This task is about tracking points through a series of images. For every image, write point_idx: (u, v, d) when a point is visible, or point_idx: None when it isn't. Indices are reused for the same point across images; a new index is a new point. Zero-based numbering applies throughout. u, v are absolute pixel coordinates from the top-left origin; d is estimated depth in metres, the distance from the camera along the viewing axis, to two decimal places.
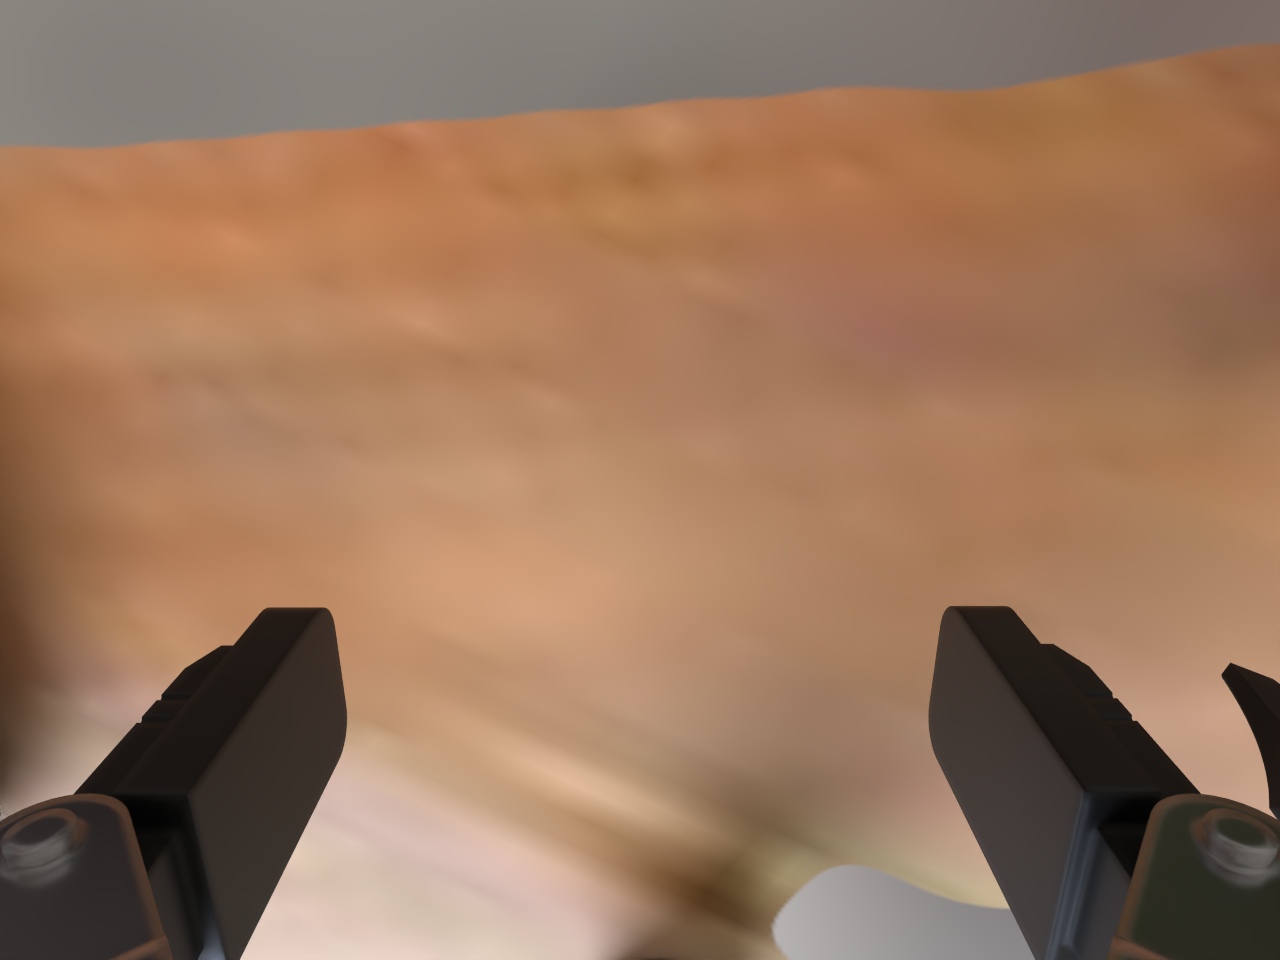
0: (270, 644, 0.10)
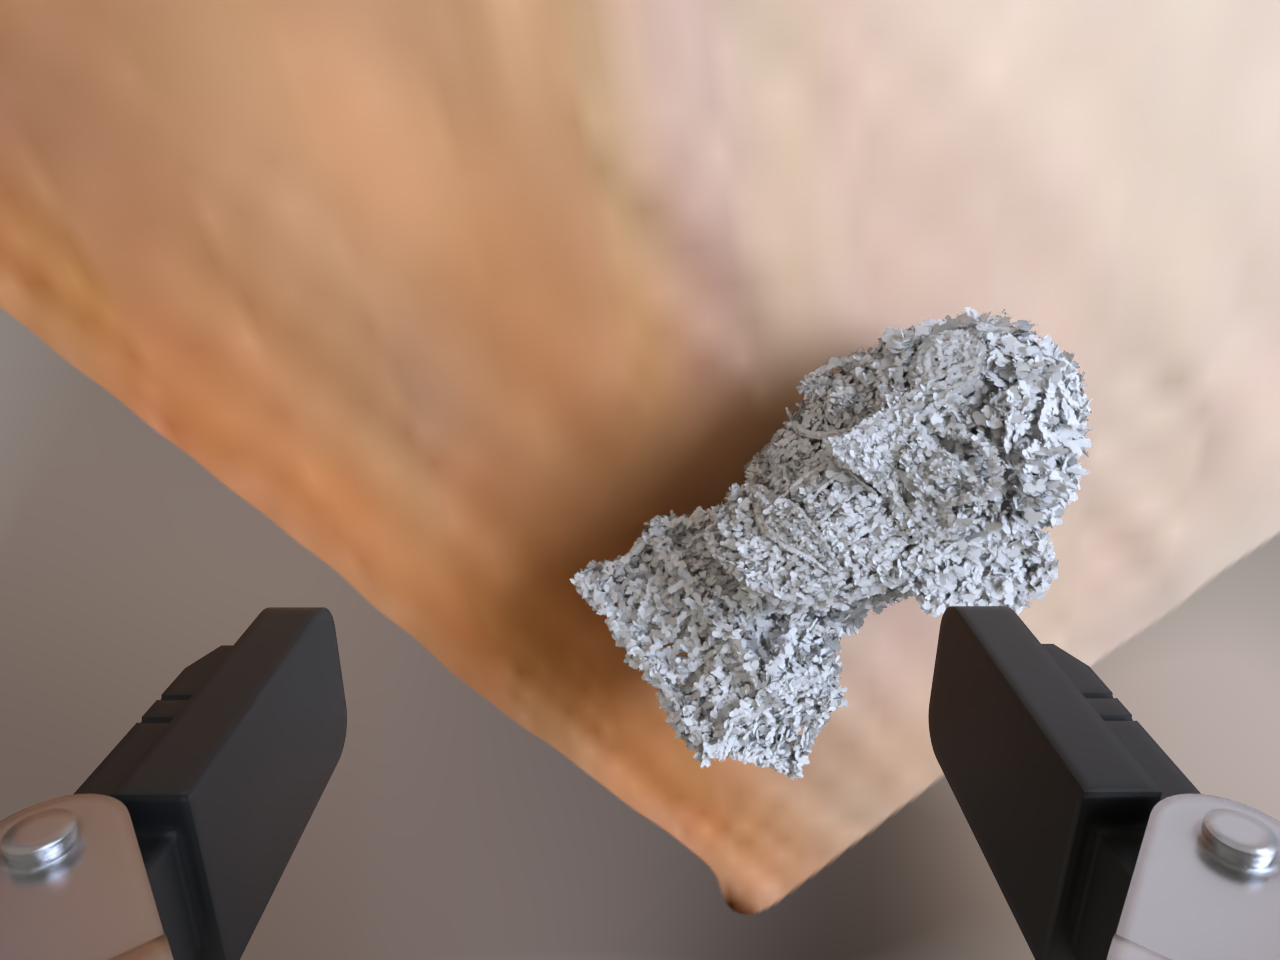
0: (270, 644, 0.10)
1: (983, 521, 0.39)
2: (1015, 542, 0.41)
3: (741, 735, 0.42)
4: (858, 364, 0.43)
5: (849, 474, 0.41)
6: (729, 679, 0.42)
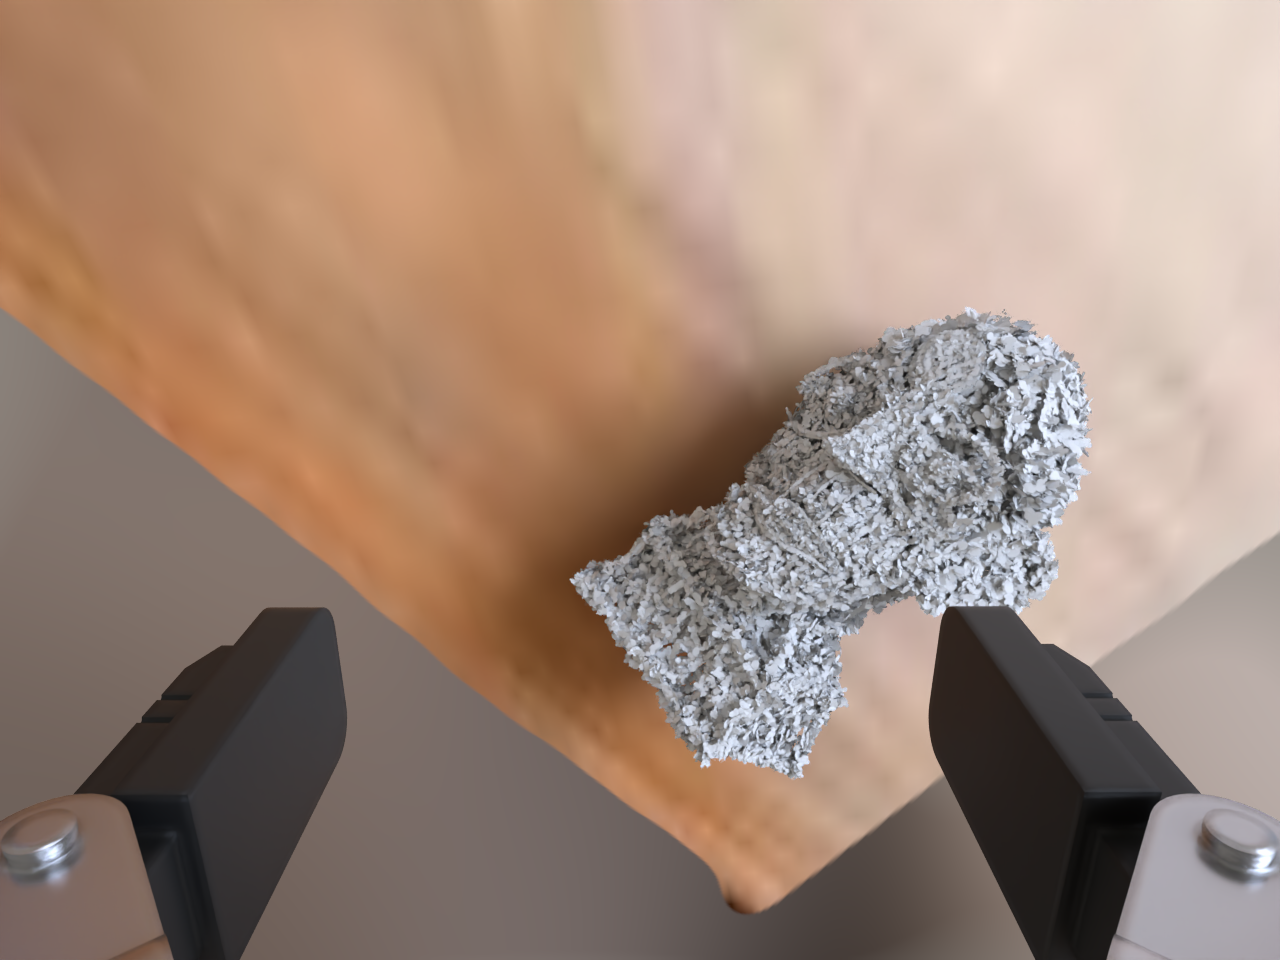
0: (270, 644, 0.10)
1: (983, 521, 0.39)
2: (1015, 542, 0.41)
3: (741, 735, 0.42)
4: (858, 364, 0.43)
5: (849, 474, 0.41)
6: (729, 679, 0.42)
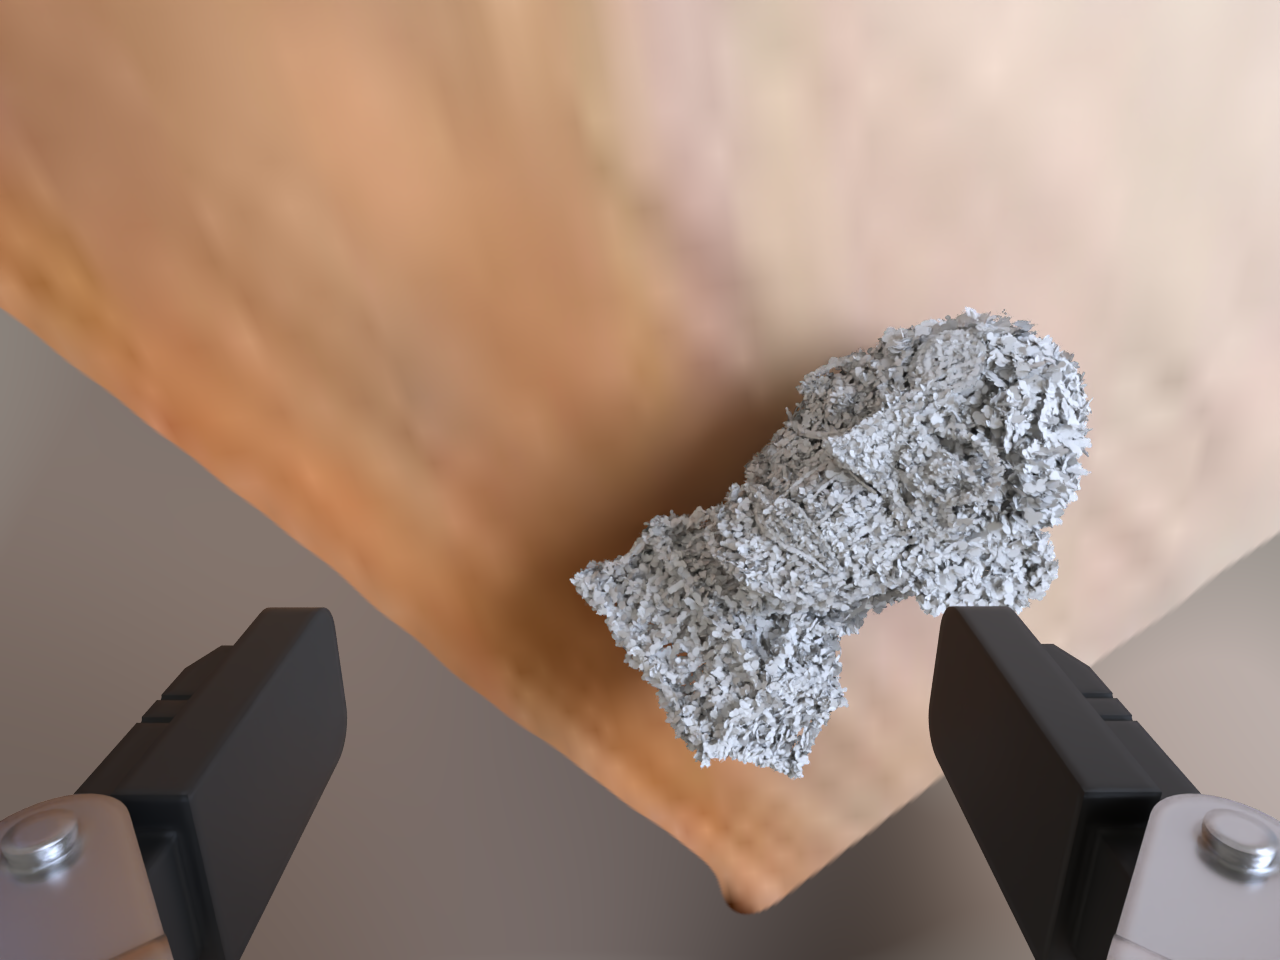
0: (270, 644, 0.10)
1: (983, 521, 0.39)
2: (1015, 542, 0.41)
3: (741, 735, 0.42)
4: (858, 364, 0.43)
5: (849, 474, 0.41)
6: (729, 679, 0.42)
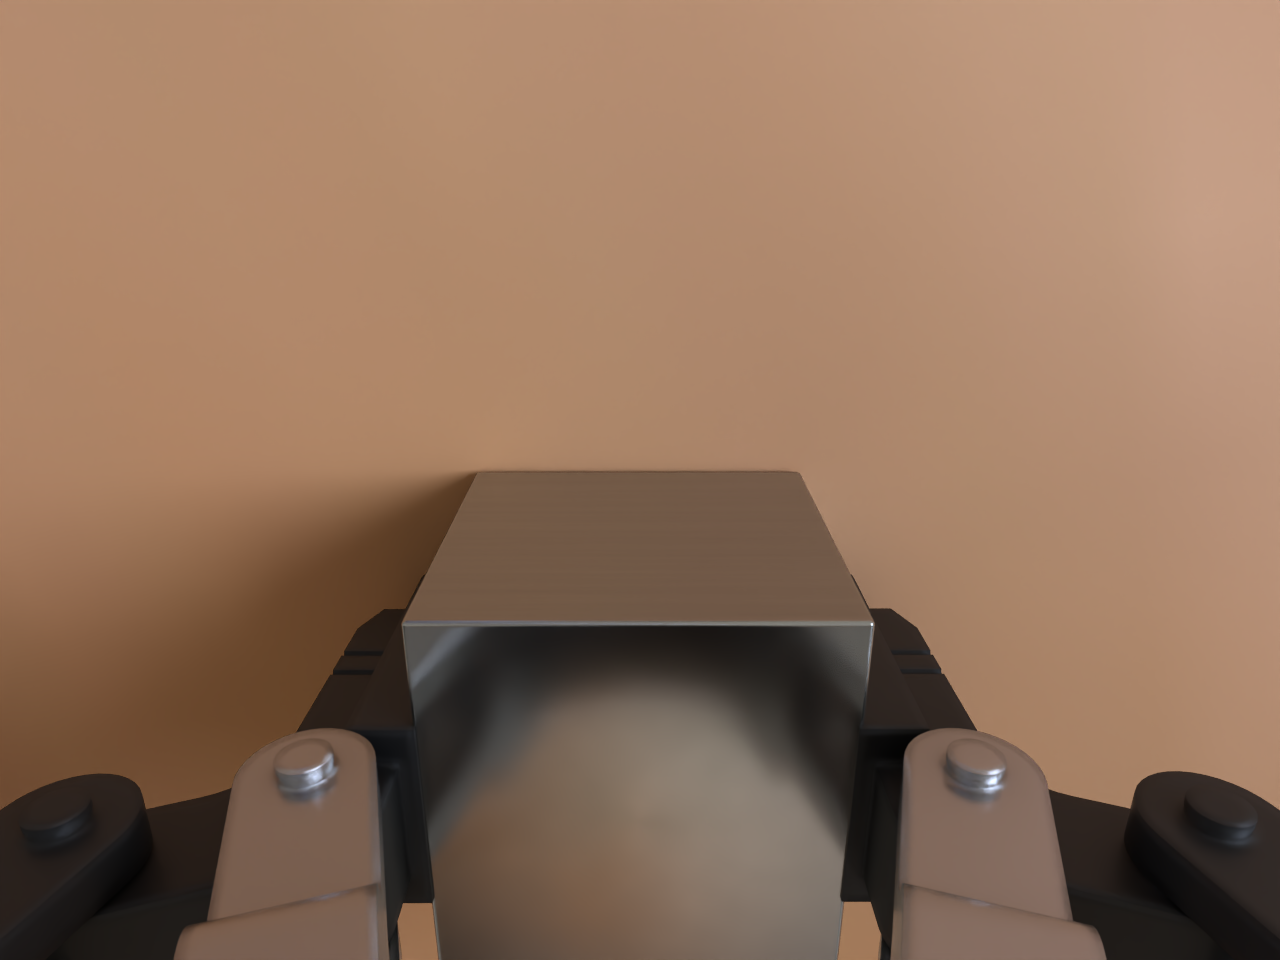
0: None
1: None
2: None
3: None
4: None
5: None
6: None
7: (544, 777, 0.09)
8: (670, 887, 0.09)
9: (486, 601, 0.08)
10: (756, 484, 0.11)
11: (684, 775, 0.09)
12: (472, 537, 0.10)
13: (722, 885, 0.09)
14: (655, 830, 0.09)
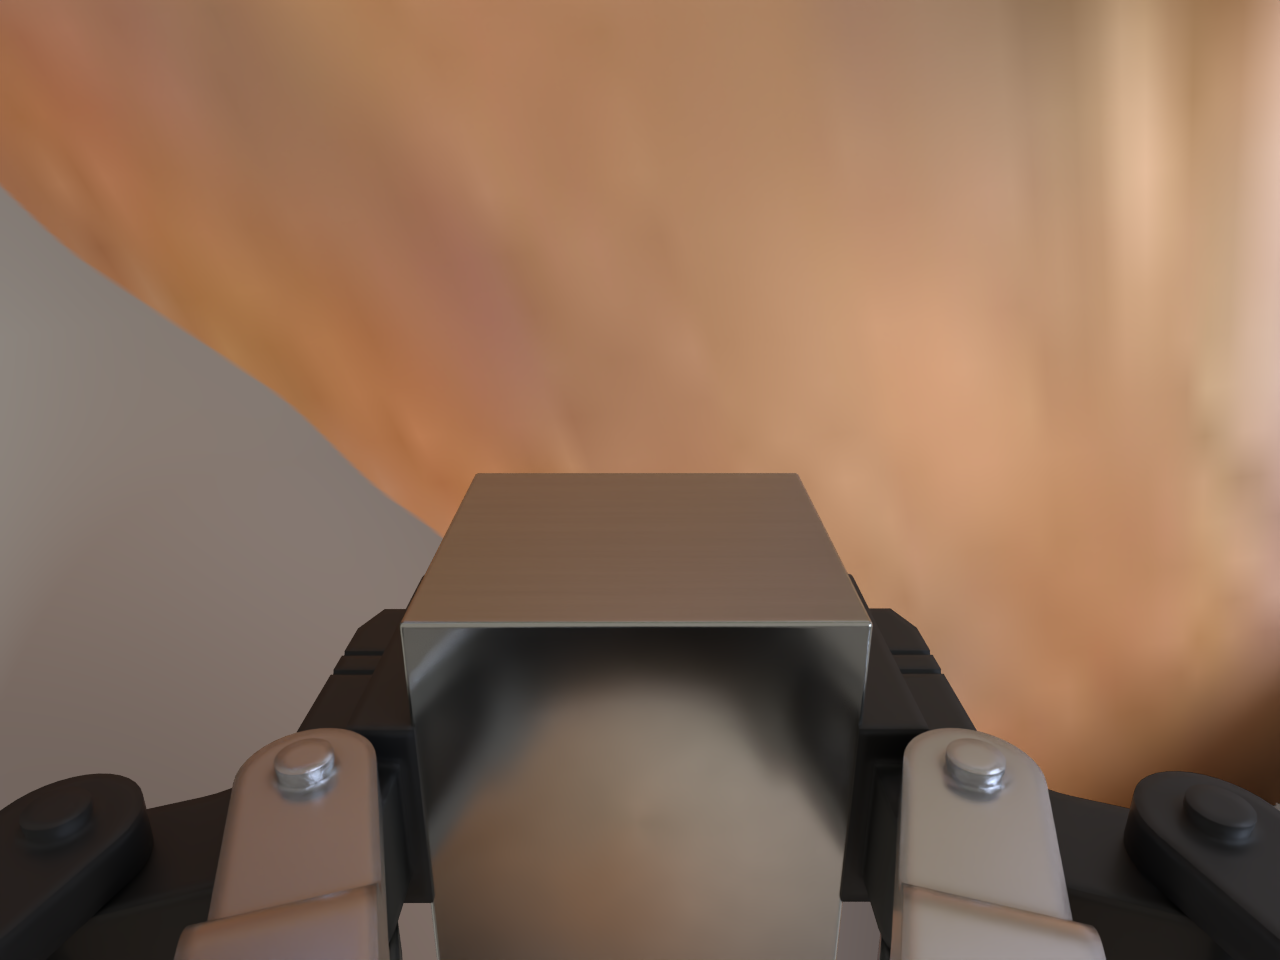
0: None
1: None
2: None
3: None
4: None
5: None
6: None
7: (544, 776, 0.09)
8: (668, 888, 0.09)
9: (484, 602, 0.08)
10: (754, 485, 0.11)
11: (682, 776, 0.09)
12: (471, 538, 0.10)
13: (720, 886, 0.09)
14: (653, 830, 0.09)
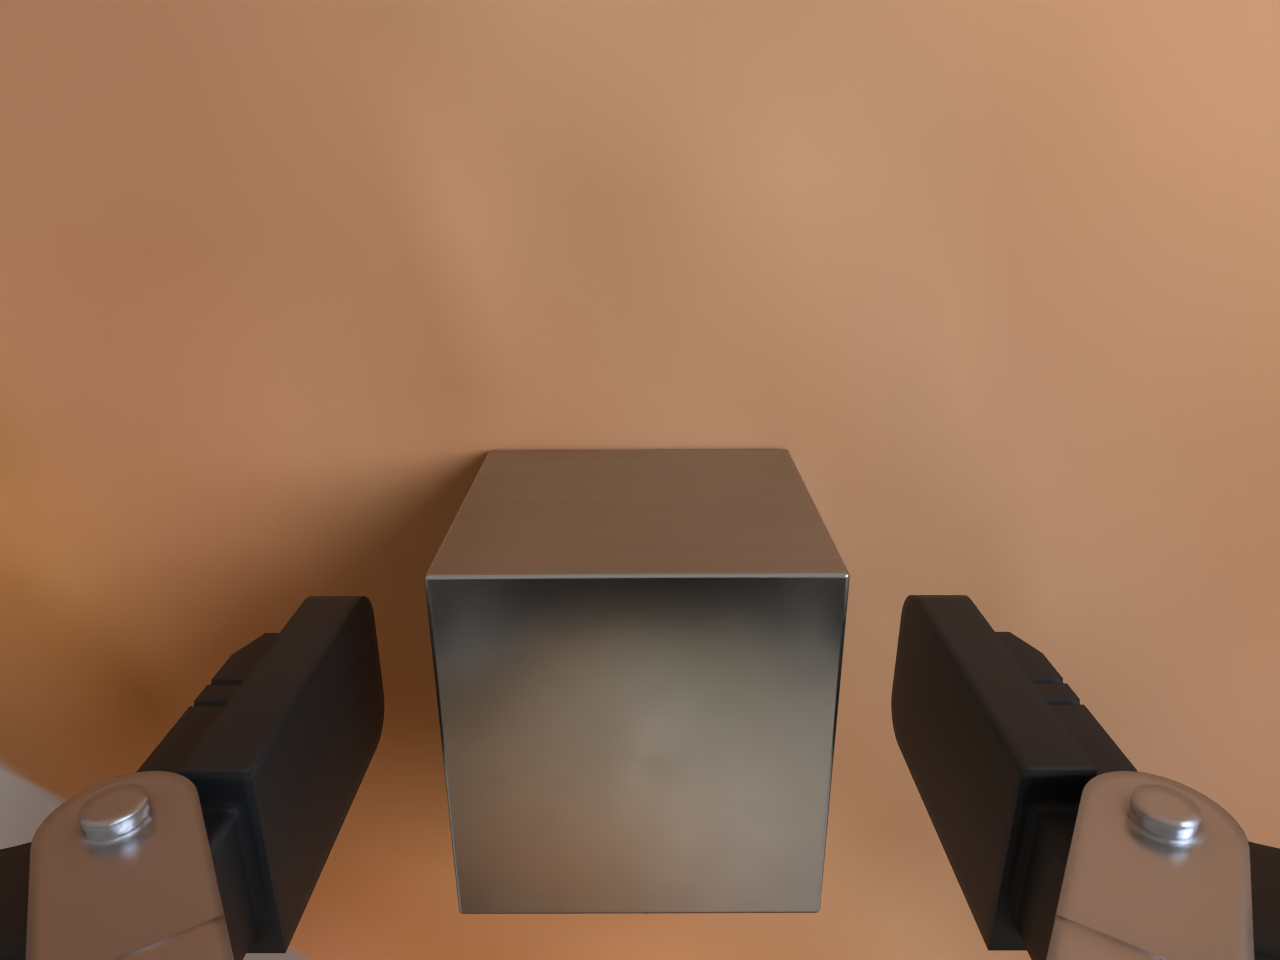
0: (316, 631, 0.10)
1: None
2: None
3: None
4: None
5: None
6: None
7: (555, 717, 0.10)
8: (667, 821, 0.10)
9: (500, 558, 0.09)
10: (747, 460, 0.12)
11: (679, 716, 0.10)
12: (486, 506, 0.11)
13: (715, 819, 0.10)
14: (654, 767, 0.10)
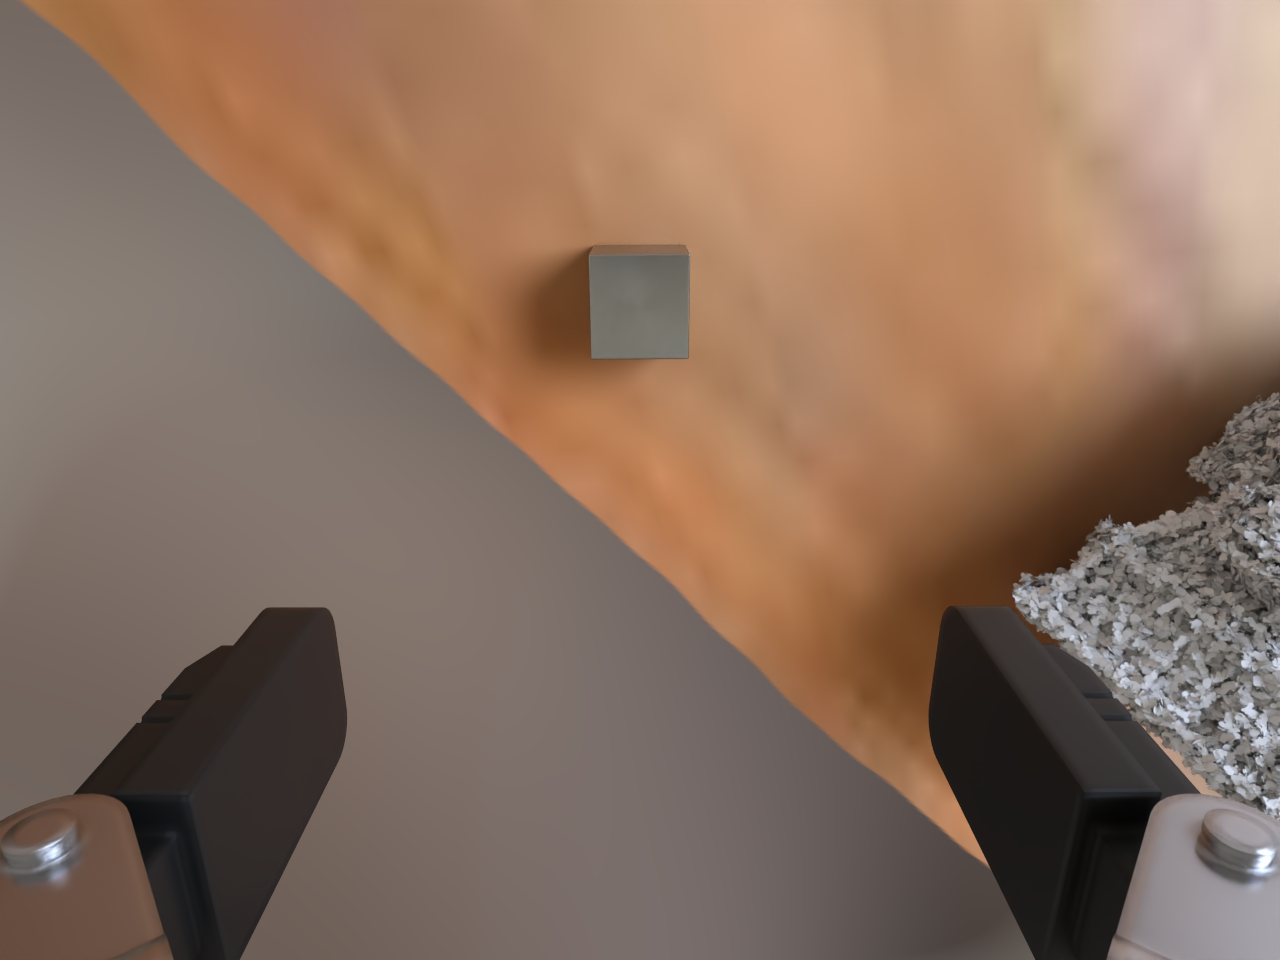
0: (269, 644, 0.10)
1: None
2: None
3: None
4: None
5: None
6: (1264, 718, 0.35)
7: (618, 295, 0.38)
8: (647, 327, 0.39)
9: (605, 253, 0.38)
10: (672, 245, 0.41)
11: (649, 295, 0.38)
12: (598, 250, 0.39)
13: (659, 326, 0.39)
14: (643, 310, 0.39)
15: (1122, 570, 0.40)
